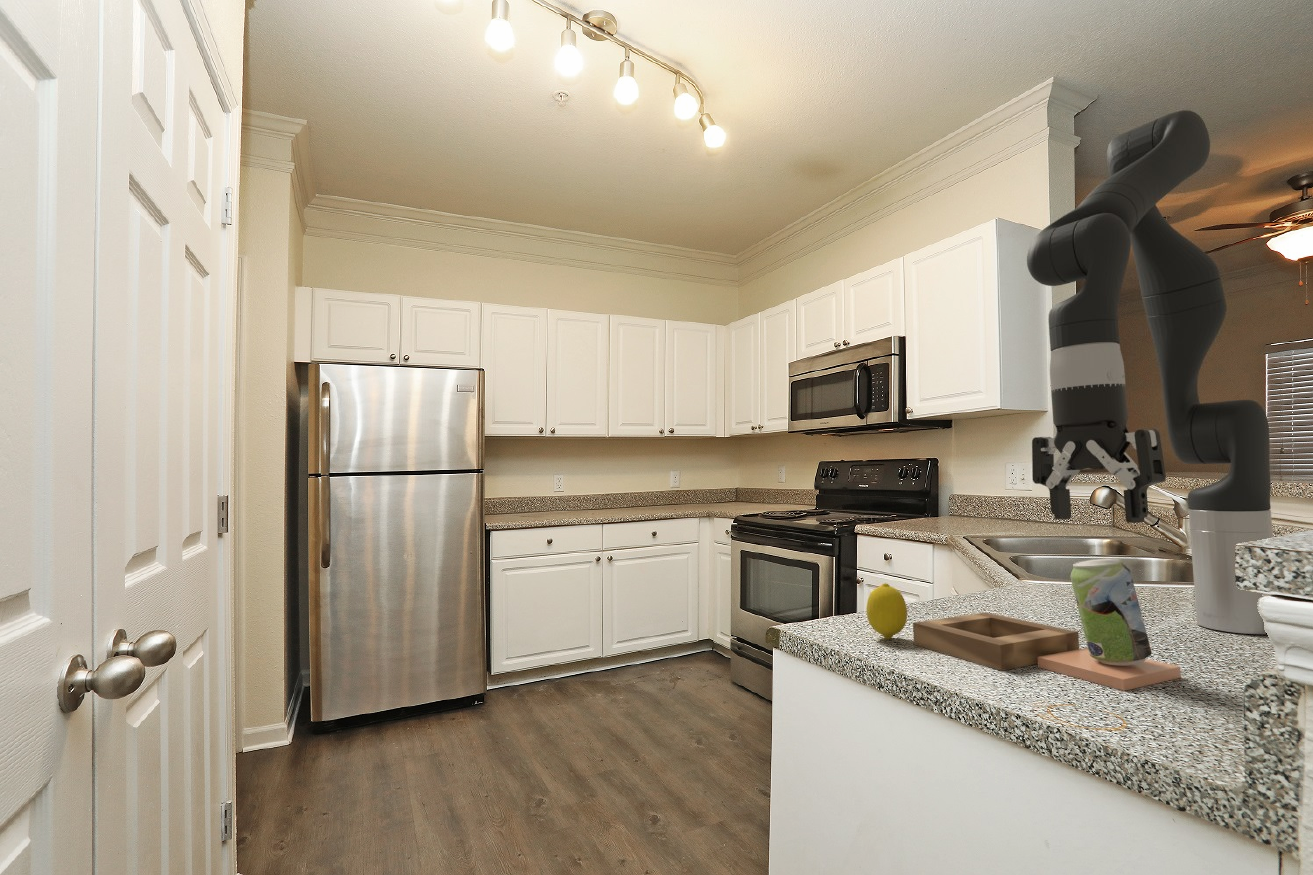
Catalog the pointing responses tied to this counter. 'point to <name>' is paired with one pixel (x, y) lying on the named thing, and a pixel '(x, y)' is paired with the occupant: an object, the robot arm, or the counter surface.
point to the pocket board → (994, 639)
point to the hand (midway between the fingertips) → (1097, 520)
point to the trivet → (1108, 670)
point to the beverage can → (1110, 612)
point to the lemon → (886, 610)
